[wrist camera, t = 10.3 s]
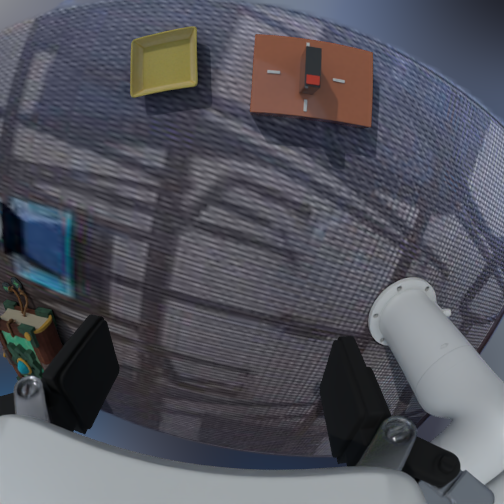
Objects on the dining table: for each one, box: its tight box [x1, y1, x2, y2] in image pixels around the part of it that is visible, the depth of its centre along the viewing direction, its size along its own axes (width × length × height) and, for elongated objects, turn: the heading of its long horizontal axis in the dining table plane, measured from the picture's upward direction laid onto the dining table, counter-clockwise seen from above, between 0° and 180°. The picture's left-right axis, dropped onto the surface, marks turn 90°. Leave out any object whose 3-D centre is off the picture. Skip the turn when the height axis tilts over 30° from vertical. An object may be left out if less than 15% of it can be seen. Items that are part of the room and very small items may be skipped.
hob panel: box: [250, 34, 373, 128], centre depth 28 cm, size 14×10×3 cm
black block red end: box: [299, 46, 322, 95], centre depth 24 cm, size 5×2×4 cm, turn 176°
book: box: [0, 277, 63, 380], centre depth 40 cm, size 27×21×10 cm
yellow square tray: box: [130, 27, 198, 98], centre depth 27 cm, size 9×9×2 cm
